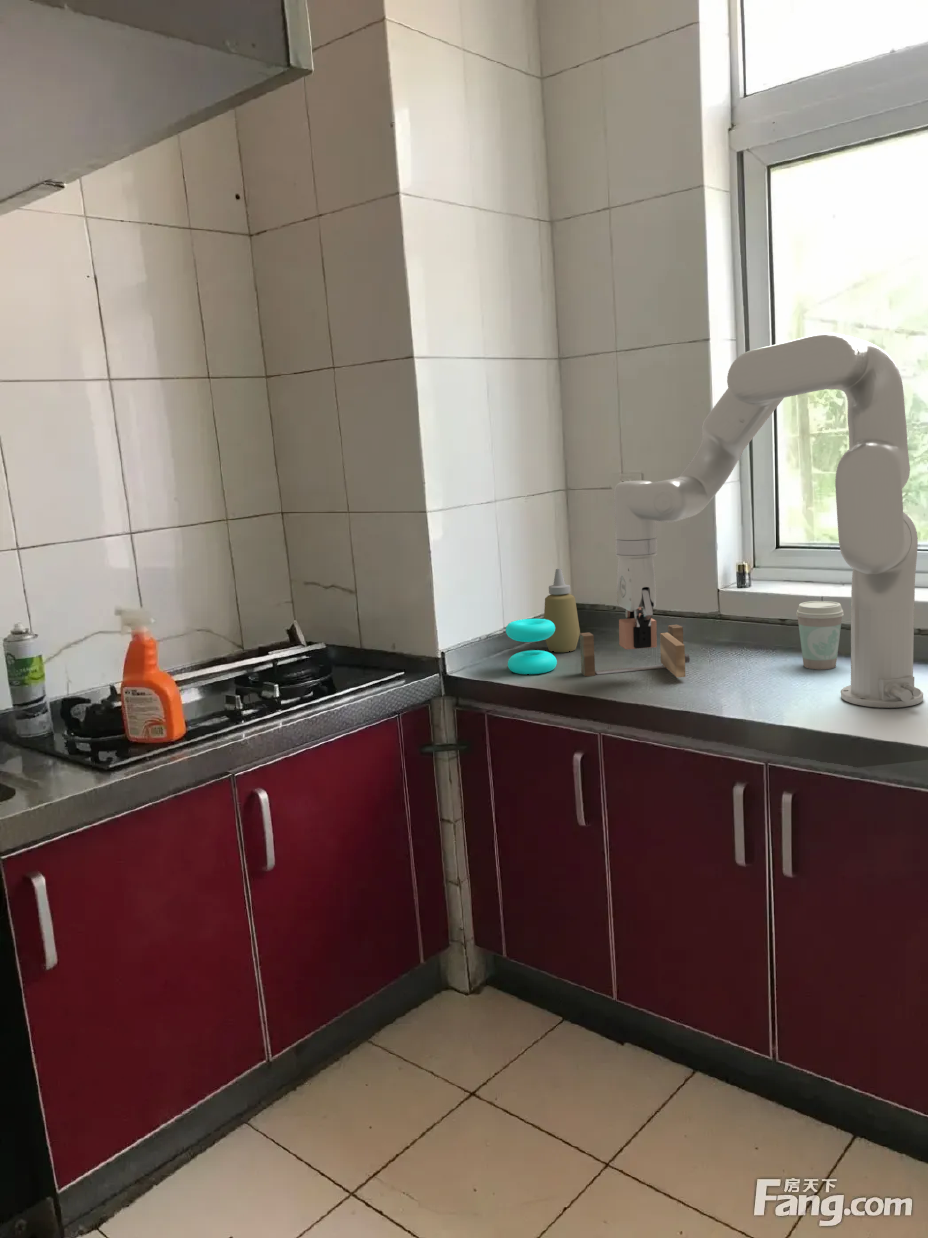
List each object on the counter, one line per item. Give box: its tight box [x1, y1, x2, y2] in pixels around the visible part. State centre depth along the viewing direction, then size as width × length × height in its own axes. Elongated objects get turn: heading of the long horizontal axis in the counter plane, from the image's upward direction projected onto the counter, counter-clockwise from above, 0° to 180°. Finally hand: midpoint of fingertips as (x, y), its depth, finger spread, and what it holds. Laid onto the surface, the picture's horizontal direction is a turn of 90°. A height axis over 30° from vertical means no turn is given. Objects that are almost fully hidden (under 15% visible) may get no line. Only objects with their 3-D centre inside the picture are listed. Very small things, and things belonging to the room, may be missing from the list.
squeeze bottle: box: [543, 568, 581, 653], centre depth 217 cm, size 8×8×18 cm
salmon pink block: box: [618, 617, 658, 650], centre depth 187 cm, size 4×6×5 cm, turn 98°
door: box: [659, 632, 691, 678], centre depth 190 cm, size 3×12×6 cm, turn 2°
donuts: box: [505, 618, 558, 675], centre depth 201 cm, size 10×10×10 cm
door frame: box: [579, 624, 684, 677], centre depth 196 cm, size 3×20×8 cm, turn 98°
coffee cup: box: [795, 600, 845, 671], centre depth 189 cm, size 9×8×12 cm
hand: (638, 644), depth 187 cm, fingers closed on salmon pink block, 4 cm apart
